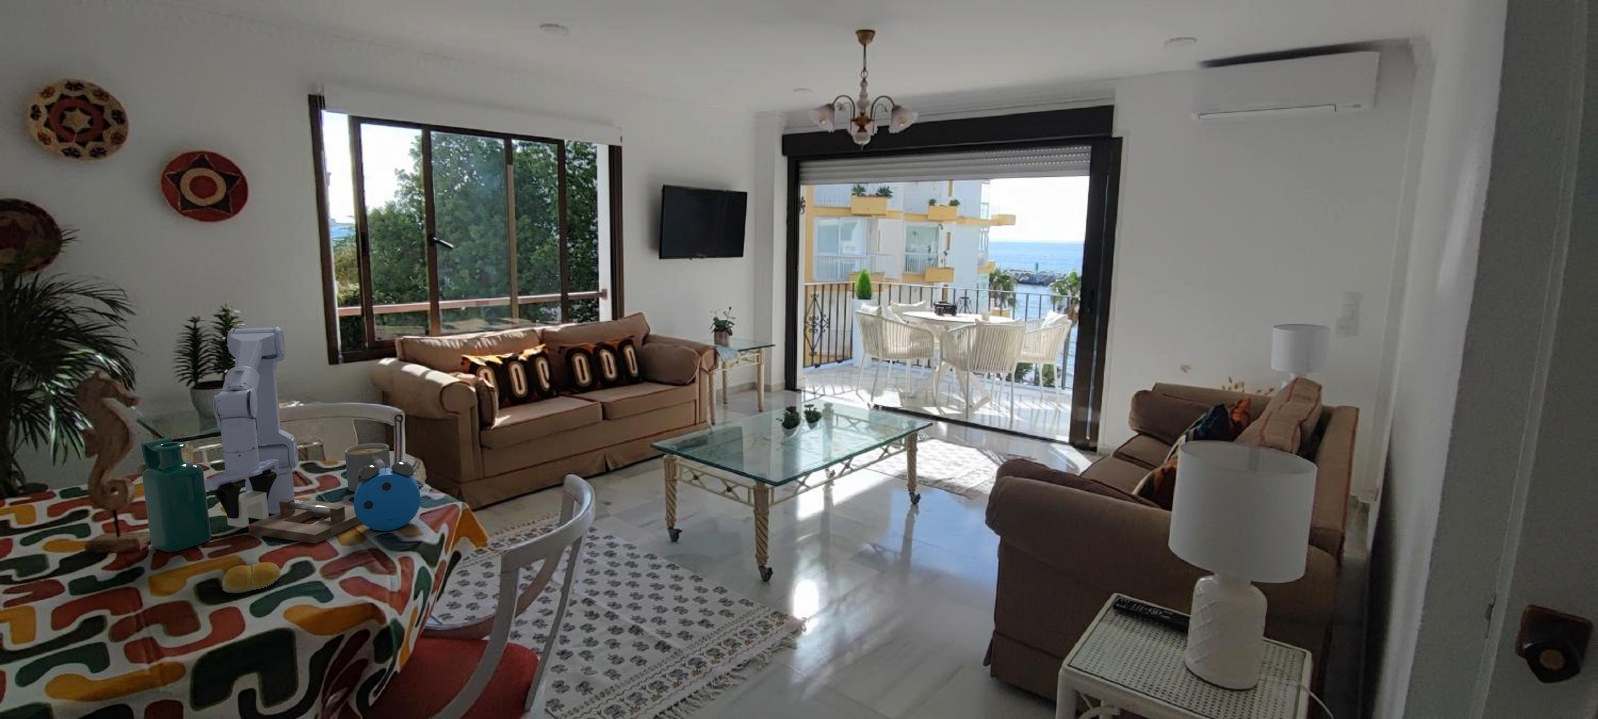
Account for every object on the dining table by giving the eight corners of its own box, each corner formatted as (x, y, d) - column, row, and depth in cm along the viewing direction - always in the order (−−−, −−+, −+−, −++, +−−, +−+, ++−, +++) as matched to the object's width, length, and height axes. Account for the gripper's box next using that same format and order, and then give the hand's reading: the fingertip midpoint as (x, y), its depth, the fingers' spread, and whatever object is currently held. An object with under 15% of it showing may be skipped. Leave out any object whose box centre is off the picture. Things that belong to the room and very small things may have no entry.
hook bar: (284, 508, 174) (284, 502, 173) (290, 506, 175) (289, 500, 175) (335, 515, 170) (334, 509, 170) (340, 513, 172) (339, 507, 171)
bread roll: (281, 586, 145) (279, 567, 144) (222, 598, 140) (219, 578, 139) (281, 570, 151) (279, 551, 151) (225, 580, 146) (222, 561, 146)
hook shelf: (249, 533, 168) (246, 511, 167) (311, 508, 183) (309, 488, 182) (315, 543, 163) (313, 521, 162) (374, 516, 179) (372, 496, 178)
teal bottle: (215, 539, 164) (204, 441, 160) (170, 554, 156) (156, 451, 153) (189, 531, 168) (177, 434, 164) (143, 545, 161) (130, 444, 157)
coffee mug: (344, 484, 200) (341, 447, 198) (386, 476, 206) (384, 441, 204) (355, 498, 190) (351, 459, 188) (398, 490, 196) (396, 453, 194)
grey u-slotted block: (227, 525, 156) (224, 499, 155) (253, 515, 161) (250, 490, 160) (243, 527, 155) (240, 501, 154) (268, 517, 160) (266, 492, 159)
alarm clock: (421, 517, 179) (417, 456, 176) (422, 527, 173) (418, 463, 171) (356, 527, 172) (351, 463, 170) (356, 537, 167) (350, 471, 164)
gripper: (221, 461, 147) (228, 527, 150) (288, 441, 161) (294, 502, 163) (192, 457, 149) (200, 523, 151) (261, 438, 163) (267, 498, 165)
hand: (247, 512), depth 157 cm, fingers closed on grey u-slotted block, 6 cm apart
